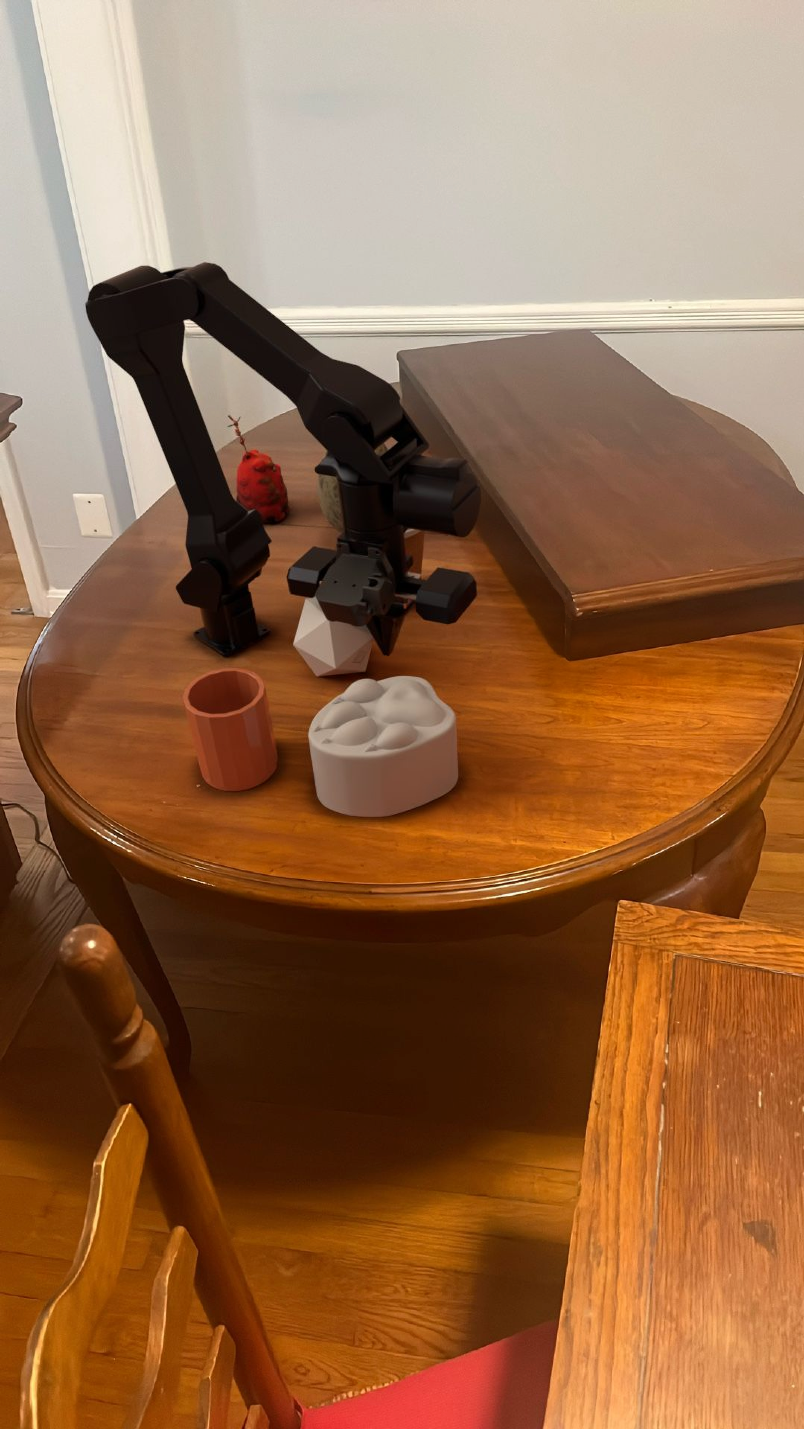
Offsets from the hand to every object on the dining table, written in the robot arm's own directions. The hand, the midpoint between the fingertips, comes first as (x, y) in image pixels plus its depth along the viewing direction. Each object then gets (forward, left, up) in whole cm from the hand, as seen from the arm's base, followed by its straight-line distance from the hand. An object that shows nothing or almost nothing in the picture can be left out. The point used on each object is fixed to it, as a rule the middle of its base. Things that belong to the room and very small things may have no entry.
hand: (388, 653), depth 104 cm
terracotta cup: (-1, -19, -3) cm, 20 cm away
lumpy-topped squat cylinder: (+11, -11, -4) cm, 16 cm away
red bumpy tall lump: (-41, +15, -4) cm, 43 cm away
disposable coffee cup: (-12, +12, -4) cm, 17 cm away
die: (-6, -2, -3) cm, 7 cm away
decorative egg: (-26, +20, -4) cm, 33 cm away
